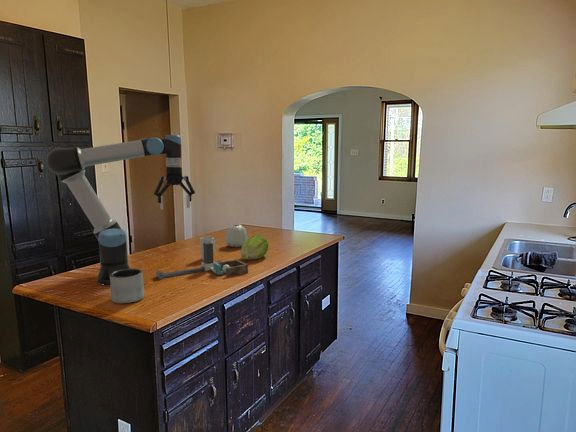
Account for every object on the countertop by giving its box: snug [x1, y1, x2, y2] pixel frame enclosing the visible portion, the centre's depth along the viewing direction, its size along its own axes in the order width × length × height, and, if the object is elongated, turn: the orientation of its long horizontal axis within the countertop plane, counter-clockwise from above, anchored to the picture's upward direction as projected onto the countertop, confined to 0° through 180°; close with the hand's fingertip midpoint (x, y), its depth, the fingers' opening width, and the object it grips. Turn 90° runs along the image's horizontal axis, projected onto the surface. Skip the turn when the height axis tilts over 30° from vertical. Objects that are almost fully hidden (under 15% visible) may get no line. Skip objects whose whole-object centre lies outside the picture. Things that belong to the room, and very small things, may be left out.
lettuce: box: [240, 234, 269, 261], centre depth 230 cm, size 13×22×14 cm
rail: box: [155, 260, 223, 280], centre depth 205 cm, size 33×5×3 cm, turn 124°
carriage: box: [200, 242, 224, 276], centre depth 205 cm, size 6×15×13 cm, turn 34°
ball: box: [221, 265, 230, 274], centre depth 205 cm, size 4×4×4 cm
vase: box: [224, 224, 249, 248], centre depth 260 cm, size 14×14×13 cm
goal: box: [218, 259, 249, 278], centre depth 206 cm, size 11×12×4 cm
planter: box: [110, 268, 145, 304], centre depth 168 cm, size 13×13×11 cm
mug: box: [199, 236, 216, 261], centre depth 231 cm, size 10×7×12 cm, turn 145°
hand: (175, 208), depth 211 cm, fingers open, 13 cm apart
